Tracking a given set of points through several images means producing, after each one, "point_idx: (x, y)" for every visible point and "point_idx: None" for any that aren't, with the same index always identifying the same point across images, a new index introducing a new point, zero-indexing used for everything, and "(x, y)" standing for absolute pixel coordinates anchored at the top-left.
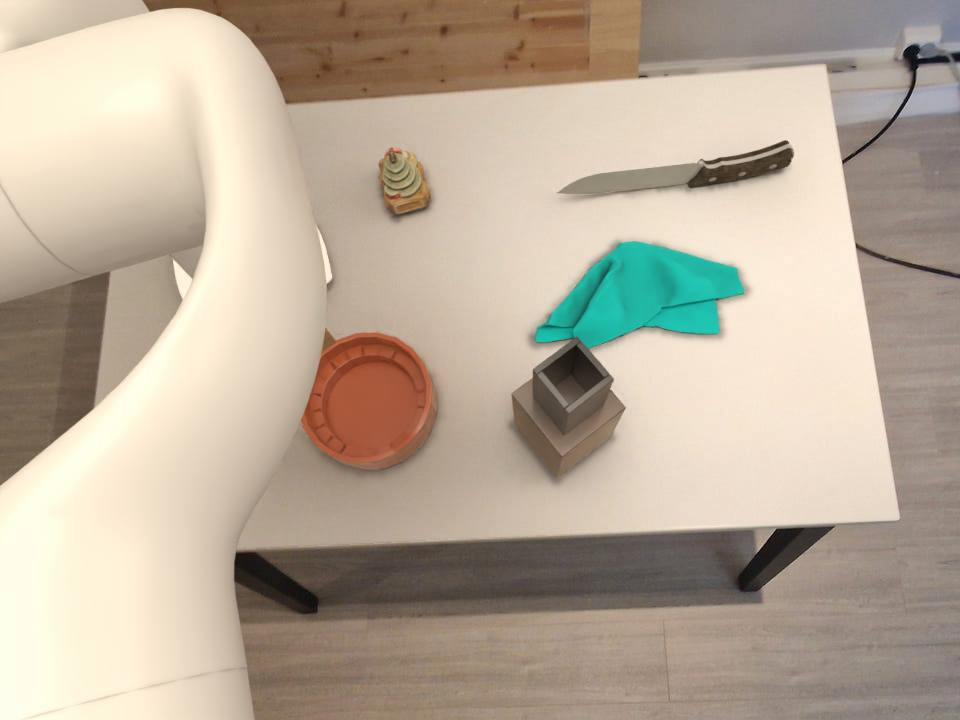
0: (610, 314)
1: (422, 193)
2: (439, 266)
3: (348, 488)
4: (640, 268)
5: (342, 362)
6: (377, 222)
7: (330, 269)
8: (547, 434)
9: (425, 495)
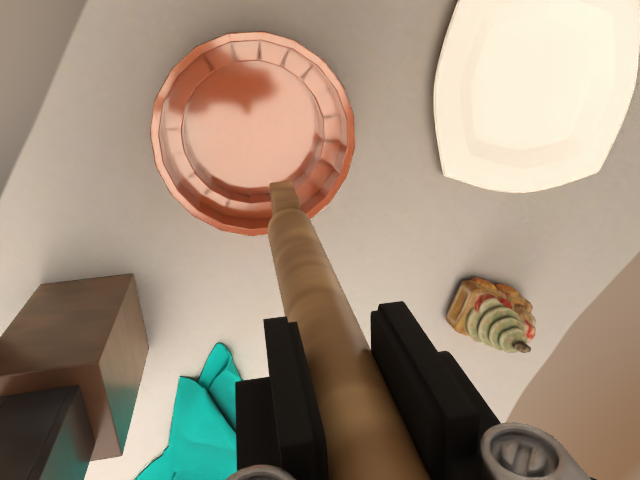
0: (196, 431)
1: (460, 330)
2: (372, 291)
3: (163, 33)
4: (231, 471)
5: (327, 130)
6: (470, 255)
7: (455, 179)
8: (11, 378)
9: (99, 126)
